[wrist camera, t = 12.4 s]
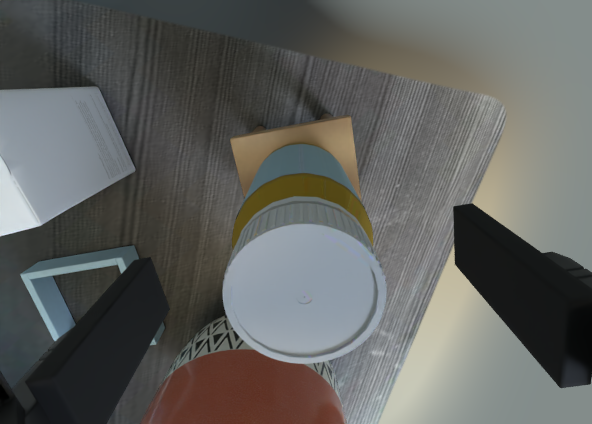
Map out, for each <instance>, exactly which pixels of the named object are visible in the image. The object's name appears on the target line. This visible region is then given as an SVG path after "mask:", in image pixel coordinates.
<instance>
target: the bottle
mask: <svg viewBox="0 0 592 424" xmlns="http://www.w3.org/2000/svg"><path fill="white" fill-rule="evenodd" d="M232 248H233V252H232V255H231V258H230V260H229V263H228V266H227V269H226V271H225V274H224V280H223V289H222V292H223V303H224V308H225V312H226V315H227V317H228V320H229V322H230V324H231V326H232V327H233V329H234V330H235V332H236V333H237V334H238V335H239V336H240V338H241V339H242V340H243V341H244V342H246V343H247V344H248V345H249V346H250V347H252V348H253V349H255V350H256V351H258V352H260V353H262V354H264V355H266V356H268V357H270V358H273V359H276V360H279V361H284V362H289V363H298V364H310V363H319V362H324V361H329V360H332V359H335V358H338V357H340V356H342V355H345V354H347V353H348V352H350V351H352V350H353V349H355V348H356V347H358V346H359V345H360V344H362V343H363V342H364V341H365V340H366V339H367V338H368V337H369V336H370V335H371V333H372V332H373V331H374V329H375V328H376V326H377V325H378V323H379V321H380V319H381V317H382V314H383V311H384V308H385V303H386V282H385V275H384V273H383V268H382V266H381V263H380V261H379V259H378V257H377V254H376V252H375V250H374V248H373V232H372V226H371V223H370V220H369V218H368V215H367V213H366V211H365V208H364V206H363V204H362V202H361V200H360V199H359V197H358V195H357V193H356V191H355V189H354V188H353V186H352V184H351V182H350V180H349V178H348V176H347V175H346V173H345V171H344V169H343V167H342V166H341V164H340V163H339V162H338V161H337V160H336V158H335V157H334V156H333V155H332V154H331V153H330V152H328V151H326V150H325V149H323V148H321V147H319V146H316V145H312V144H307V143H295V144H288V145H285V146H283V147H281V148H279V149H277V150H275V151H273V152H272V153H271V154H270V155H269V156H268V157H267V158H266V159H265V160H264V161H263V162H262V164H261V165H260V167H259V169H258V171H257V173H256V175H255V177H254V179H253V182H252V184H251V186H250V188H249V190H248V193H247V195H246V197H245V199H244V202H243V204H242V206H241V208H240V210H239V213H238V215H237V218H236V221H235V224H234V229H233V237H232Z"/></svg>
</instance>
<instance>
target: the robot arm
mask: <svg viewBox="0 0 592 424" xmlns="http://www.w3.org/2000/svg"><path fill="white" fill-rule="evenodd" d="M453 211H454V248H455V265H456V266H457V267H458V268H459V270H460V271H461V272H462V273H463V274H464V275H465V276H466V278H467V279H468V280H469V281H470V283H471V284H472V285H473V286H474V287H475V288H476V289H477V291H478V292H479V293H480V294H481V295H482V297H483V298H484V299H485V300H486V301H487V302H488V304H489V305H490V306H491V307H492V308H493V310H494V311H495V312H496V313H497V314H498V315H499V317H500V318H501V319H502V320H503V321H504V322H505V323H506V325H507V326H508V327H509V328H510V330H511V331H512V332H513V333H514V334H515V335H516V336H517V338H518V339H519V340H520V341H521V342H522V344H523V345H524V346H525V347H526V348H527V349H528V351H529V352H530V353H531V354H532V355H533V357H534V358H535V359H536V360H537V361H538V362H539V364H541V366H542V367H543V368H544V369H545V371H546V372H547V373H548V374H549V375H550V376H551V378H552V379H553V380H554V381H555V382H556V384H557V385H558V386H559V387H560V388H565V387H573V386H580V385H588V384H591V377H592V272H590V271H589V270H587V269H584V268H583V266H581V265H580V264H578V263H577V262H575V261H573V260H572V259H570V258H568V257H565V256H563V255H560V254H557V253H554V252H547V253H541V252H540V251H538V250H537V249H535V248H534V247H533V246H531V245H530V244H529V243H527V242H526V241H524V240H523V239H521V238H520V237H519V236H517V235H516V234H514V233H513V232H512V231H510V230H509V229H507V228H506V227H505V226H503V225H502V224H500V223H499V222H498V221H496V220H495V219H493V218H492V217H490V216H489V215H488V214H486V213H485V212H483V211H482V210H481V209H479V208H478V207H476V206H475V205H474V204H466V205H460V206H454V207H453ZM169 310H170V308H169V305H168V303H167V300H166V297H165V295H164V292H163V289H162V287H161V284H160V281H159V279H158V276H157V273H156V271H155V268H154V265H153V263H152V260H151V257H149V258H143V259H137V260H134V261H133V262H132V263H131V264H130V265H129V266H128V267H127V268H126V269H125V271H124V272H123V273H122V274H121V275H120V276H119V277H118V278H117V279H116V281H115V282H114V283H113V284H112V285H111V286H110V287H109V288H108V289H107V291H106V292H105V293H104V294H103V295H102V296H101V297H100V298H99V299H98V301H97V302H96V303H95V304H94V305H93V306H92V307H91V308H90V310H89V311H88V312H87V313H86V314H85V315H84V316H83V317H82V318H81V320H80V321H79V322H78V323H77V324H76V325H75V326H74V327H73V328H71V329H70V330H69V331H67V332H66V333H65V334H63V335H62V336H61V337H59V338H58V339H57V340H56V341H55V342H54V343H53V345H52V346H51V347H50V348H49V349H48V352H45V353H44V354H43V355H42V356H41V358H40V359H39V361H37V362H36V363H35V364H34V365H33V366H32V367H31V368H30V370H29V371H28V372H27V373H26V374H25V375H24V376H23V377H22V378H21V379H20V380H19V382H18V383H17V384H16V385H15V386H14V387H13V388H12V389H11V388H10V386H9V384H8V383H7V381H6V380H5V378H4V376H3V375H2V373H1V372H0V424H107V422H108V420H109V418H110V416H111V415H112V413H113V411H114V409H115V407H116V406H117V404H118V402H119V400H120V398H121V396H122V395H123V393H124V391H125V389H126V387H127V386H128V384H129V382H130V380H131V378H132V377H133V375H134V373H135V371H136V369H137V367H138V366H139V364H140V362H141V360H142V358H143V357H144V355H145V353H146V351H147V349H148V348H149V346H150V344H151V342H152V340H153V338H154V337H155V335H156V333H157V331H158V329H159V328H160V326H161V324H162V322H163V320H164V319H165V317H166V315H167V313H168V311H169Z"/></svg>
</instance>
